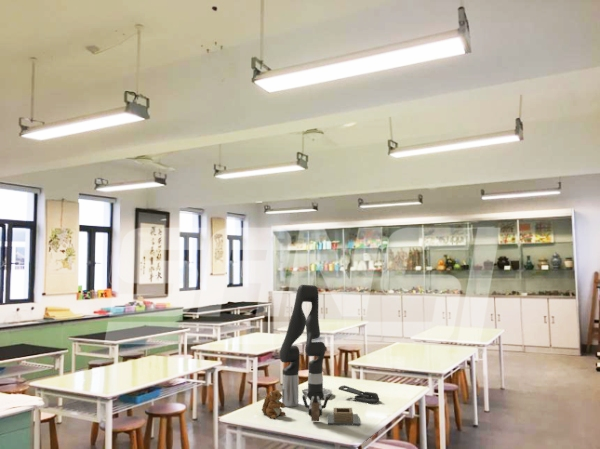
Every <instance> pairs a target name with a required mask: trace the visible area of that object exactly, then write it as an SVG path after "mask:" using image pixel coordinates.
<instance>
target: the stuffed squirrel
mask: <svg viewBox="0 0 600 449" xmlns="http://www.w3.org/2000/svg"><path fill="white" fill-rule="evenodd" d="M282 397H283V396H282V392H280V391H279V389H275V390H273V391H269V394H266V395H265V397H264V402H263V404H262V408H261V411H262V414H263V415H265V414H267V415H266V416H267V417H268V418H269V417H271V418H270V419H272V418H276V419H277V417H279V415H281V416H285V415H286V412H285V411H283V410H282V409H285V407H286V406H285V405H284V403H282V401H280V400H282ZM281 408H282V409H281ZM276 416H277V417H276Z"/></svg>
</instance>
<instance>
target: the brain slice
mask: <svg viewBox="0 0 600 449" xmlns="http://www.w3.org/2000/svg"><path fill="white" fill-rule="evenodd" d="M301 392H302V394H303V395H307V393H308V388H304V389H302V390H301ZM323 394H324V395H326V396H328V397H329V398H330V397H331V395H332V394H333V391H332V389H330V388H324V387H323ZM321 400H324V397H323V398H322V399H321Z"/></svg>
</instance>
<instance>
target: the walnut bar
mask: <svg viewBox="0 0 600 449" xmlns="http://www.w3.org/2000/svg"><path fill="white" fill-rule="evenodd" d="M310 418H311V422H320V417H319V403H318V402H313V403H312V402H311V417H310Z"/></svg>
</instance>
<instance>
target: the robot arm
mask: <svg viewBox="0 0 600 449" xmlns="http://www.w3.org/2000/svg"><path fill="white" fill-rule="evenodd" d="M304 302H306V303H311V309H310V312H309V314H308V315H307V317H306V315H305V313H304V310H303V304H304ZM289 319H290V320H289V322H288V327H287V331H286V334H285V338H284V339H283V342H282V345H281V347H280V350H279V360H280V361H281V362H282V363H286V364H288V363H289V365H287V366H286V367H284V368H283V369H282V389H281V394H282V396H283V397H282V398H281V402H282V403H284V405H285V407H287V408H288V407H289V408H291V407H293V408H294V407H297V406H299V370H300V356H301V355H300V349H299V346H298V345H293V344H294V343H295V342H296V341H297V340H298V339H299V338H300V337H301V336H302V334H303V333H304V331H305V330H306V342H305V347H304V352H305V354H306V355H307V357H316V359H313V360H310V361H309V362H308V376H307V389H308V393H307V395H304V394H303V395H302V397H301V399H302V401H303V404H304V407H305V408H306V409H308V416H309V417H310V418H311V402H312V403H313V402H318V403H319V418H320V417H322V416H323V409H326V407H327V404H328V401H329V398H330V397H328V396H326V395H324V394H323V388H324V377H323V363H324V358H325V355H326V351H327V350H326V349H327V348H326V344H325V343H324V342H323V341H314V340H317V339H319V338H320V336H321V332H320V331H321V329H320V323H319V290H318V287H317V286H316V285H312V284H310V285H309V284H300V285H299V286H298V287H297V290H296V296H295V299H294V306H293V309H292V313H291V317H290V318H289ZM323 397H324V399H322V398H323ZM307 400H309V404H308V402H307ZM322 400H324V402H323V404H322Z"/></svg>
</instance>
